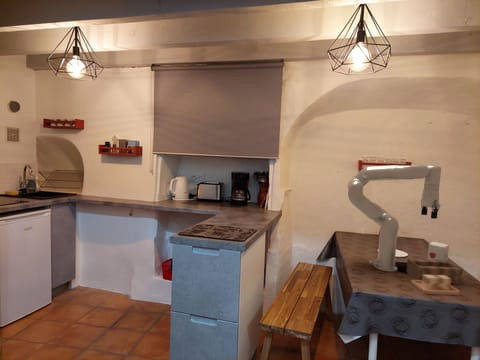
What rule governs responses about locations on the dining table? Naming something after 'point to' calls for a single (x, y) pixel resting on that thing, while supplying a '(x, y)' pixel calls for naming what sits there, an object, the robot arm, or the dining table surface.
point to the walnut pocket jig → (434, 269)
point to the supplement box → (438, 251)
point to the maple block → (436, 282)
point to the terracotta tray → (440, 292)
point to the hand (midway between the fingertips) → (428, 216)
